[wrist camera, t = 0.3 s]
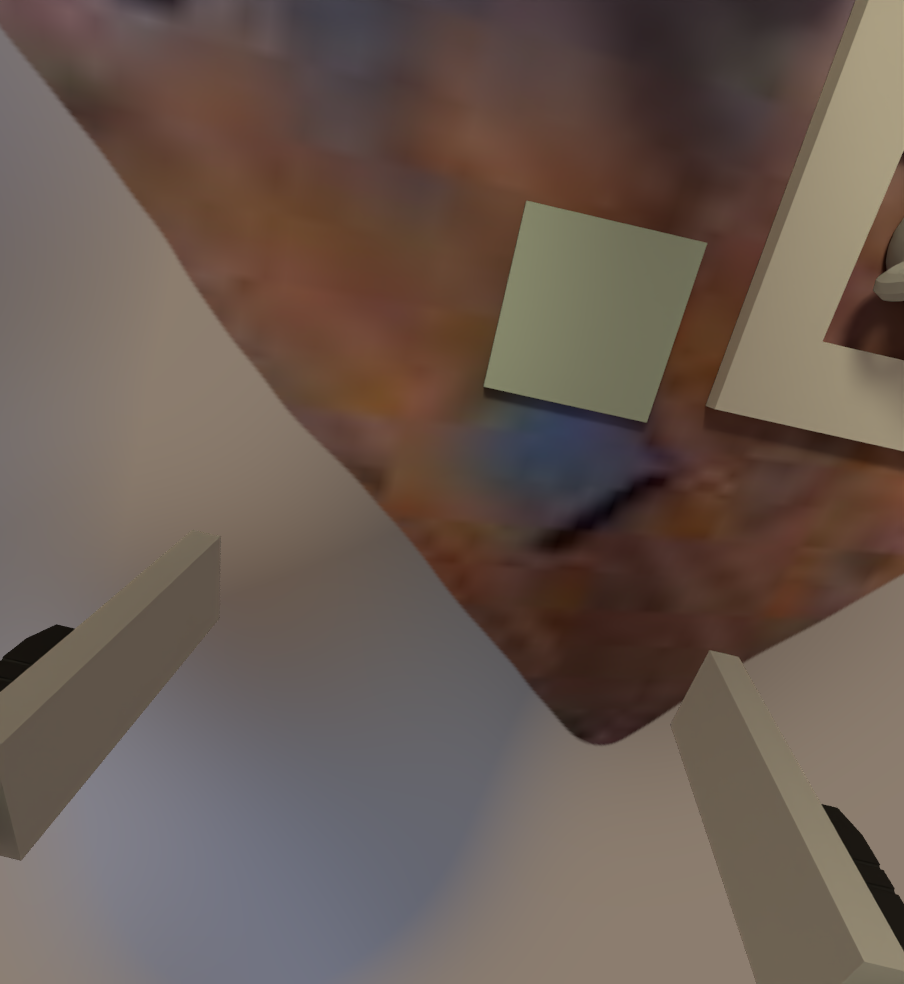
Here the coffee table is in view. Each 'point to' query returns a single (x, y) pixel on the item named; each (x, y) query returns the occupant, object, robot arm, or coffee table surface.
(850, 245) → the beige flat frame
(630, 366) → the coaster
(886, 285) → the cup
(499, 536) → the coffee table surface
